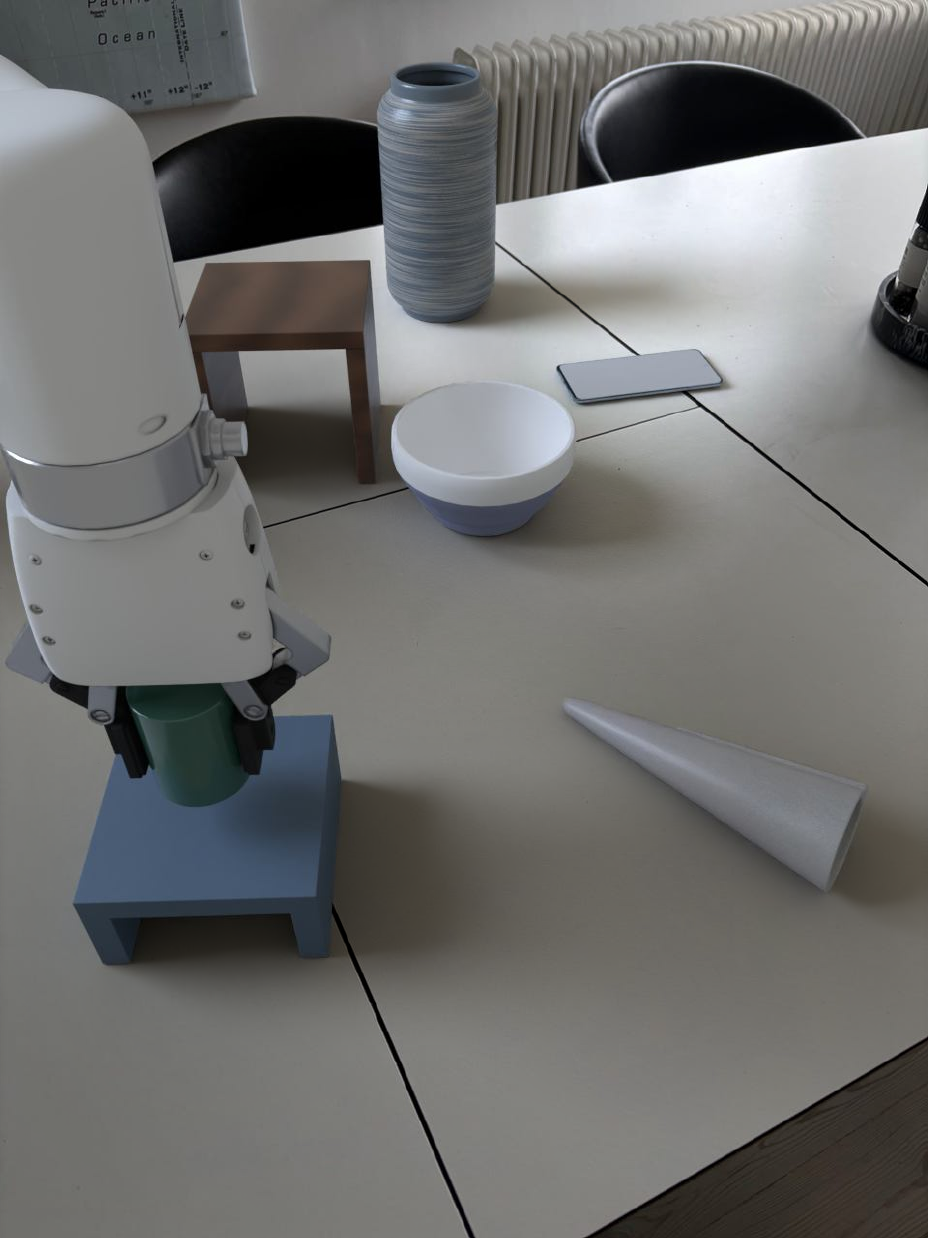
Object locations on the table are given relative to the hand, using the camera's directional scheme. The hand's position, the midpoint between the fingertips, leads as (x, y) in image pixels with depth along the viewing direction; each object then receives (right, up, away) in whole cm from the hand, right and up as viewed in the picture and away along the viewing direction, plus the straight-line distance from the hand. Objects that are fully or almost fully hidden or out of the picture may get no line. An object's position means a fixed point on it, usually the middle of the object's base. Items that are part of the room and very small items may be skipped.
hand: (199, 752), depth 51 cm
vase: (+11, +41, +59) cm, 73 cm away
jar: (0, -1, +1) cm, 1 cm away
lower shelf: (0, -7, +7) cm, 10 cm away
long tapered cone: (+27, -4, +10) cm, 29 cm away
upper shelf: (-1, +22, +39) cm, 45 cm away
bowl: (+15, +16, +32) cm, 39 cm away
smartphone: (+30, +30, +47) cm, 64 cm away
